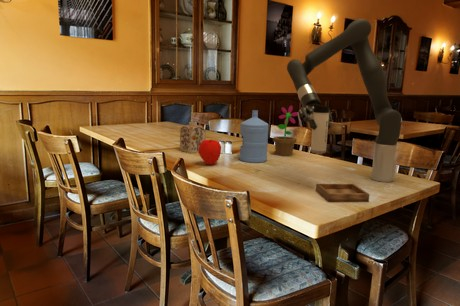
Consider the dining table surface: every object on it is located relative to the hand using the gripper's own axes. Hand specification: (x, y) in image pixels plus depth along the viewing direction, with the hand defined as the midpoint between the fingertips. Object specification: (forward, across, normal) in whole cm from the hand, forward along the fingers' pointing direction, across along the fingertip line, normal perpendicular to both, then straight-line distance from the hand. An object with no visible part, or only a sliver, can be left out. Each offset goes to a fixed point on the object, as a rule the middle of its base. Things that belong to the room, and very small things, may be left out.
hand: (322, 128), depth 146 cm
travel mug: (+6, 0, +9) cm, 11 cm away
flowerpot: (-29, +21, +66) cm, 75 cm away
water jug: (-22, -5, +59) cm, 63 cm away
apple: (-19, -32, +56) cm, 67 cm away
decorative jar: (-45, -32, +81) cm, 98 cm away
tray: (+26, +3, +10) cm, 28 cm away
